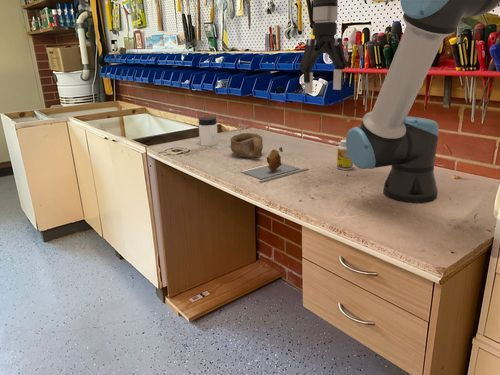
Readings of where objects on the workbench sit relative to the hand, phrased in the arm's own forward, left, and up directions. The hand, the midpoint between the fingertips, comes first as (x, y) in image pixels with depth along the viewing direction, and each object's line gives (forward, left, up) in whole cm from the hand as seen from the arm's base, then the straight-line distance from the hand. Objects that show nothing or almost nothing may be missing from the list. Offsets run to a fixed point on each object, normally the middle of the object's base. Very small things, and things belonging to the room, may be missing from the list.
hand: (323, 91), depth 139 cm
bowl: (+36, +4, -29) cm, 46 cm away
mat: (+15, +11, -28) cm, 34 cm away
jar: (+66, +5, -29) cm, 72 cm away
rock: (+12, +10, -28) cm, 32 cm away
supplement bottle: (-1, -11, -29) cm, 31 cm away
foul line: (+7, +11, -28) cm, 31 cm away
